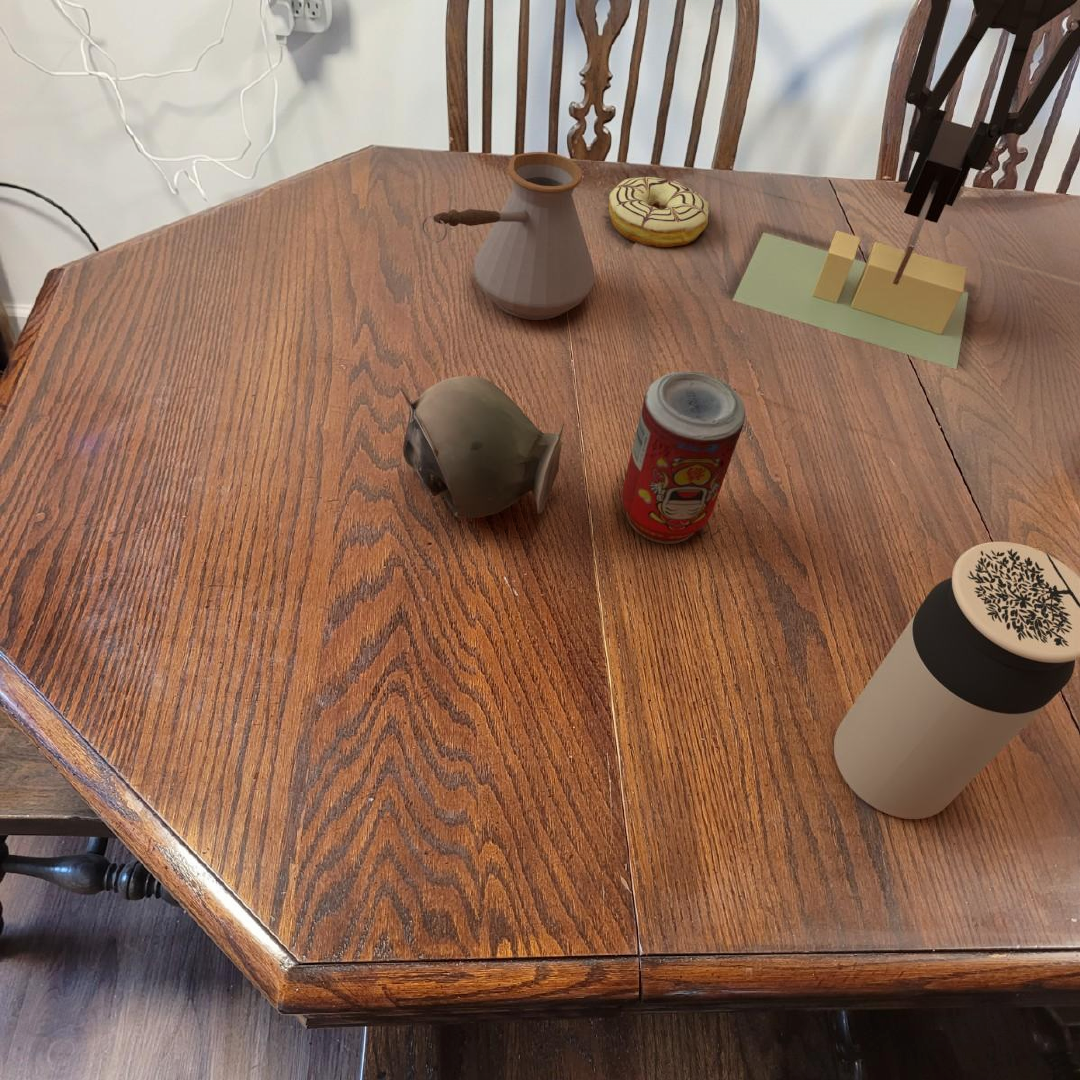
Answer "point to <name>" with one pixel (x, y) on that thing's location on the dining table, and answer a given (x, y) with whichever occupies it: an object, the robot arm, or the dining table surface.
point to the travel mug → (962, 679)
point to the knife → (936, 180)
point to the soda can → (680, 454)
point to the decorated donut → (657, 211)
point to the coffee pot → (532, 240)
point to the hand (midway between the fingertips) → (930, 191)
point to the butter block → (909, 289)
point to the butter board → (788, 284)
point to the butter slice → (836, 266)
